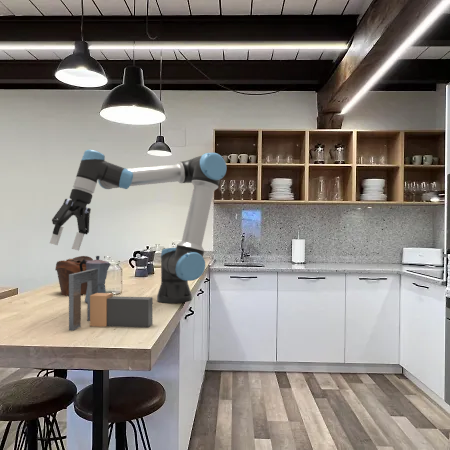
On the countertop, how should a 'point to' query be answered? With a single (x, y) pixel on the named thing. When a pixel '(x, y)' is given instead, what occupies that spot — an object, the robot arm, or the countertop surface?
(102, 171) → the robot arm
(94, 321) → the plug
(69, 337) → the countertop surface
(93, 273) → the grey arch
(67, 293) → the case
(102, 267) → the moka pot
